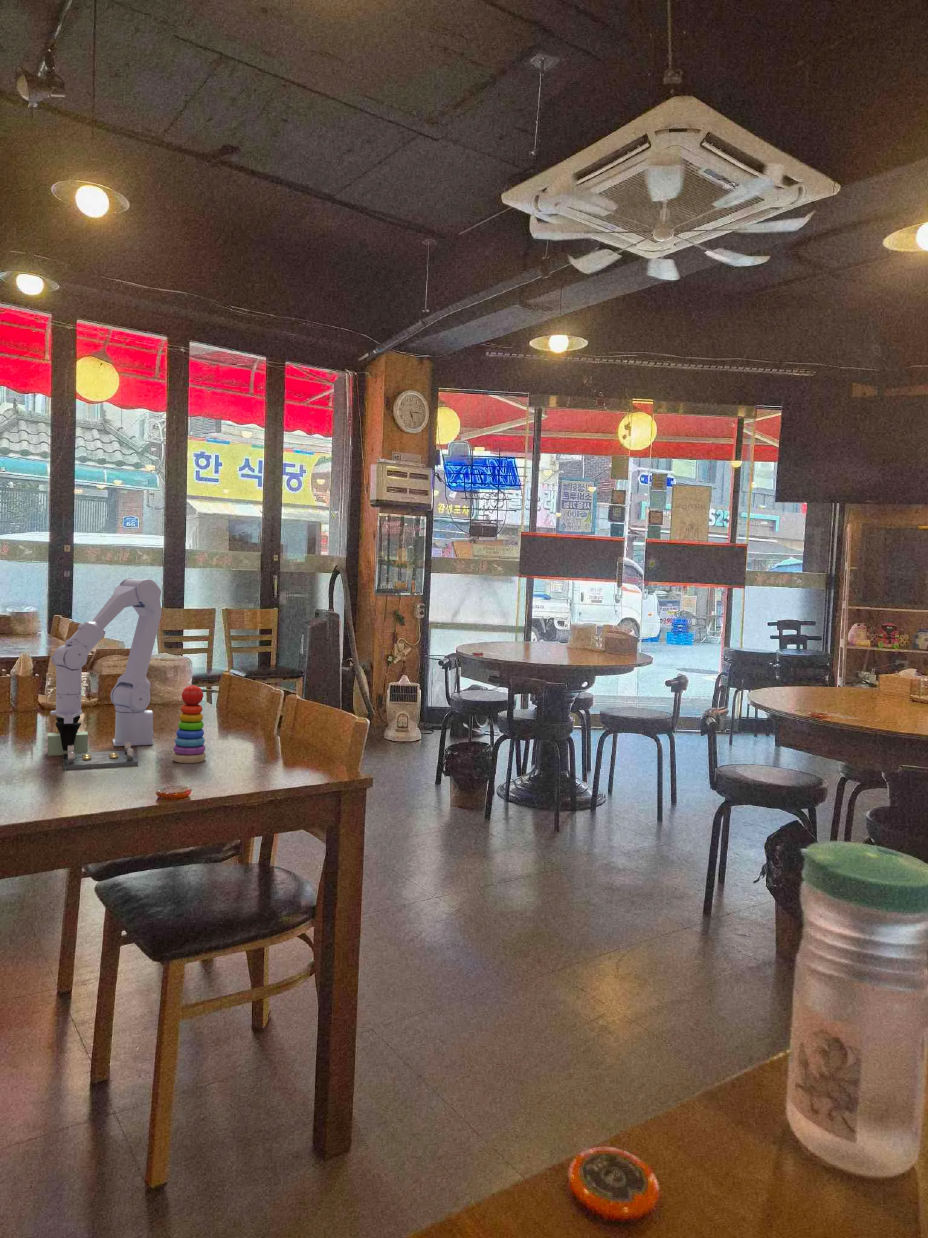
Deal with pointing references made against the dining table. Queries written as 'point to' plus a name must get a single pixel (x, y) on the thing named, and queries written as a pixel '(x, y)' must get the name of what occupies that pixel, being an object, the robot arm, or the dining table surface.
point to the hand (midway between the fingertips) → (67, 747)
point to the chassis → (99, 758)
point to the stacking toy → (190, 728)
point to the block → (56, 744)
